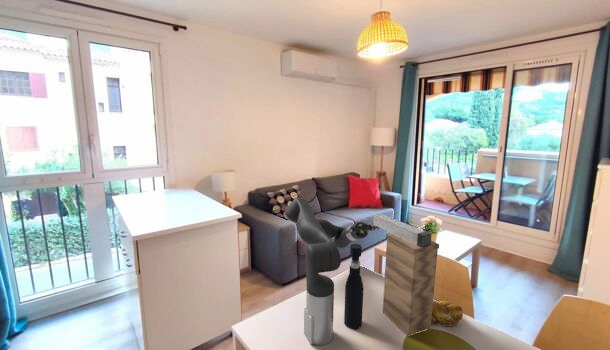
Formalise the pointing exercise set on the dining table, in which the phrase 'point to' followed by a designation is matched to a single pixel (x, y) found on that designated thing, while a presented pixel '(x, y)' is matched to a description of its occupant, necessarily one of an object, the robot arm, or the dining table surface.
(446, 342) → the dining table surface
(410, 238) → the aluminium bar
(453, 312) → the bread roll
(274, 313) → the dining table surface
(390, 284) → the walnut stand
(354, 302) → the wine bottle
